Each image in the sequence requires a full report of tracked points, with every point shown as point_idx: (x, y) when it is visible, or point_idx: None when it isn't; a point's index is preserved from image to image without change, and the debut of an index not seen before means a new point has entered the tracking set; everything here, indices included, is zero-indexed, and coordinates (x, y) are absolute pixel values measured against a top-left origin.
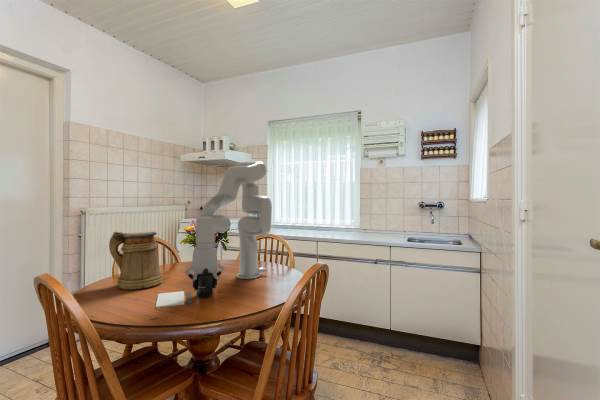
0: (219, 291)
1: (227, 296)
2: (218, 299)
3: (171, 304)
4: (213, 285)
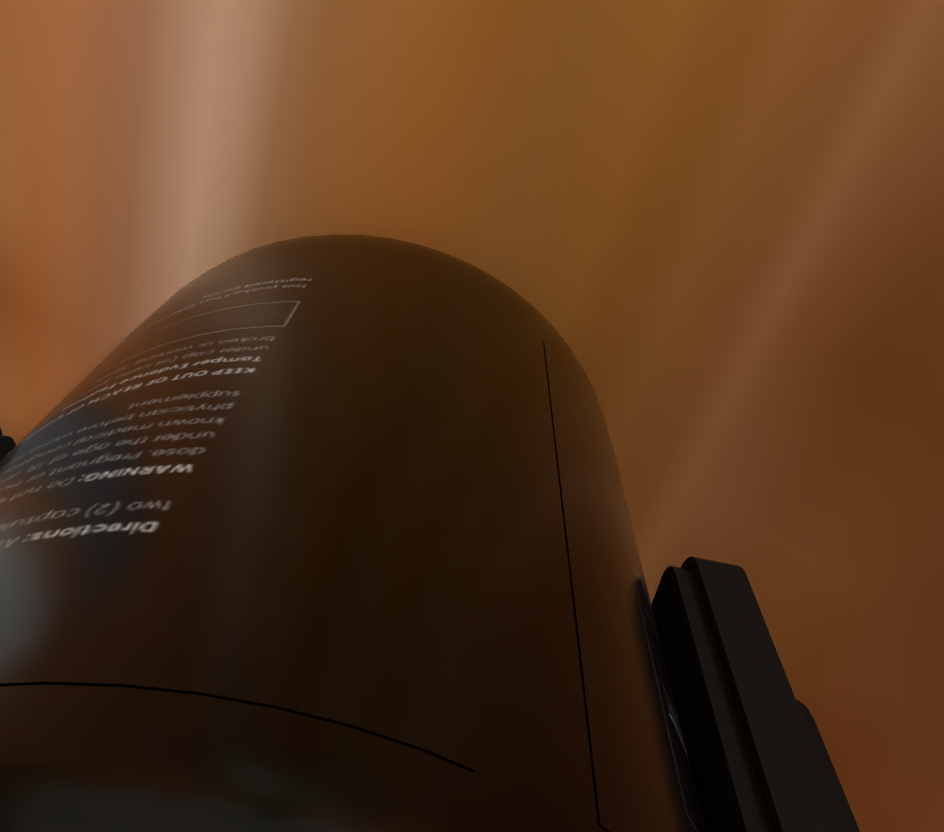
0: (916, 297)
1: (844, 769)
2: None
3: None
4: None
